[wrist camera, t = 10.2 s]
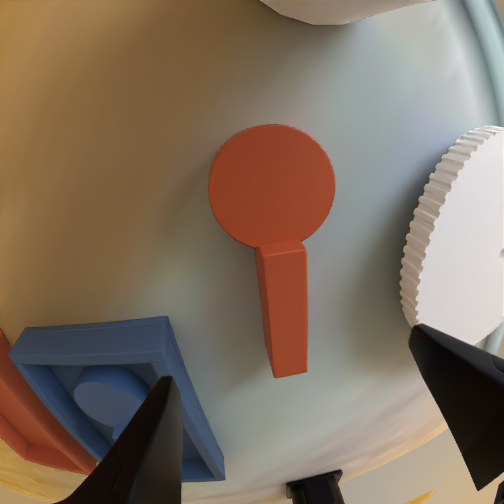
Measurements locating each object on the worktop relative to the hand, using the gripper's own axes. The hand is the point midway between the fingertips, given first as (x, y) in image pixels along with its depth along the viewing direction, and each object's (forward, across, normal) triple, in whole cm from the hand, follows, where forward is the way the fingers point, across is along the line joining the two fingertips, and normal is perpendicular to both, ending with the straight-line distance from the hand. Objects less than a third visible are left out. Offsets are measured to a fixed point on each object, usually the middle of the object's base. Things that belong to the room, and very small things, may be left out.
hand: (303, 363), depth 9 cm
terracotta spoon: (+5, 0, -2) cm, 5 cm away
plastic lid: (+5, -13, -1) cm, 14 cm away
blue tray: (+5, +10, +8) cm, 14 cm away
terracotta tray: (+5, +22, +8) cm, 24 cm away
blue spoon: (+4, +10, +8) cm, 13 cm away
